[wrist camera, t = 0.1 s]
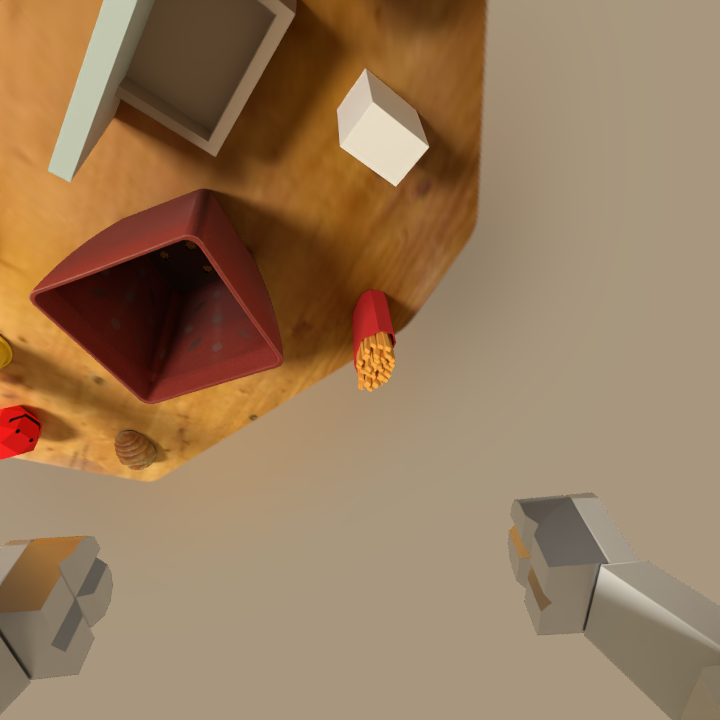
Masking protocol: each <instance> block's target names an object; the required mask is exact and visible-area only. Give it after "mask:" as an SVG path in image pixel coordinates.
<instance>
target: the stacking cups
mask: <svg viewBox="0 0 720 720" xmlns="http://www.w3.org/2000/svg"><path fill="white" fill-rule="evenodd" d="M12 356H13V354H12V349H11V347H10V345H9V344H8V343H7V342H6V341H5V340H4V339H3V338H2V337H1V336H0V369H1V368H3V367H5V366H6V365H8V364H9V363H10V361H11V360H12Z"/></svg>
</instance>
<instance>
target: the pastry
mask: <svg viewBox="0 0 720 720" xmlns="http://www.w3.org/2000/svg"><path fill="white" fill-rule="evenodd" d="M115 451H116V454H117V456H118V458H119V460H120V462H121V463H122V464H124V465H127V466H128V468H130V469H132V470H142V469H144V468H146V467H148V466H150V465H151V464H152V463H153V462H154V461H155V459H156V451H155V448H154V446H153V445H152V444H151V443H150V442H149V441H148V440H147V439H146V438H145V437H144V436H142V435H141V434H140V433H137V432H135V431H125V432H121V433H119V434H118V435H117V436H116V437H115Z"/></svg>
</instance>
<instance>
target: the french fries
mask: <svg viewBox="0 0 720 720" xmlns="http://www.w3.org/2000/svg"><path fill="white" fill-rule="evenodd" d="M352 324H353V350H354V365H355V368H356V371H357V373H358V379H359V389H361V390H363V380H364V386H365V387H366V389H367V390H369V391H370V392H371V391H372V390H373V388H372V387H374V388H377V387H378V385H381V386H382V385H383V381H384V382H386V383H387V381H388V378H390V376H391V372H390V371H392V370H393V367H394V366H395V356H394V352H393V348H394V345H395V343H396V341H395V336H394V331H393V327H392V322H391V317H390V312H389V308H388V303H387V299H386V297H385V294H384V292H381V291H376V290H372V289H370V290H368V291H366V292H364V293H363V294H361V296H360V298H359V300H358V302H357V305H356V307H355V309H354V312H353V315H352ZM363 374H364V377H363Z"/></svg>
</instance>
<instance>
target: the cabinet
mask: <svg viewBox="0 0 720 720" xmlns="http://www.w3.org/2000/svg"><path fill="white" fill-rule="evenodd" d="M337 115H338V127H339V139H340V147H341V148H343V149H344V150H346V151H347V152H348V153H350V154H351V155H353V156H354V157H355V158H357V159H358V160H360V161H361V162H362V163H364V164H365V165H367V166H368V167H369V168H371V169H372V170H373V171H375V172H376V173H378V174H379V175H380V176H382V177H383V178H385V179H386V180H387V181H389V182H390V183H392V184H393V185H394V186H397V185H398V183H399V182H400V181H401V180H402V179H403V177H404V176H405V175H406V174H407V173H408V172H409V170H410V169H411V168H412V167H413V166H414V164H415V163H416V162H417V161H418V160H419V159H420V157H421V156H422V155H423V154H424V153H425V152H426V150H427V149H428V148H429V145H428V142H427V139H426V136H425V133H424V131H423V128H422V125H421V122H420V119H419V117H418V114H417V111H416V110H415V109H414V108H413V107H412V106H410V105H409V104H408V103H407V102H406V101H404V100H403V99H402V98H401V97H400V96H398V95H397V94H396V93H395V92H394V91H392V90H391V89H390V88H389V87H388V86H386V85H385V84H384V83H383V82H382V81H381V80H379V79H378V78H377V77H376V76H375V75H373V74H372V73H371V72H370V71H369V70H367V69H366V68H365V70H364V71H363V73H362V74H361V76H360V77H359V78H358V80H357V81H356V83H355V84H354V86H353V87H352V89H351V90H350V92H349V93H348V94H347V96H346V97H345V99H344V100H343V102H342V103H341V105H340V106H339V108H338V109H337Z"/></svg>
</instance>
